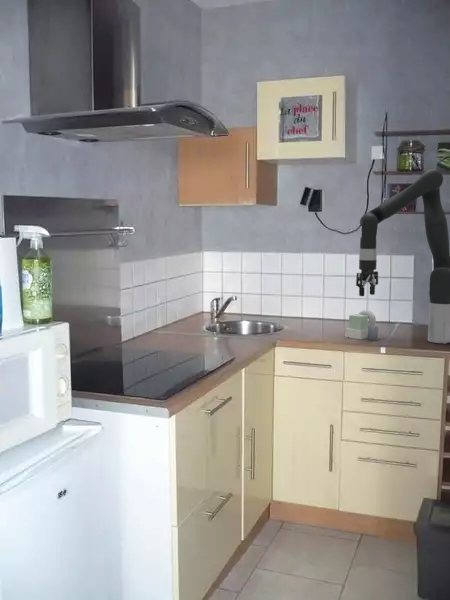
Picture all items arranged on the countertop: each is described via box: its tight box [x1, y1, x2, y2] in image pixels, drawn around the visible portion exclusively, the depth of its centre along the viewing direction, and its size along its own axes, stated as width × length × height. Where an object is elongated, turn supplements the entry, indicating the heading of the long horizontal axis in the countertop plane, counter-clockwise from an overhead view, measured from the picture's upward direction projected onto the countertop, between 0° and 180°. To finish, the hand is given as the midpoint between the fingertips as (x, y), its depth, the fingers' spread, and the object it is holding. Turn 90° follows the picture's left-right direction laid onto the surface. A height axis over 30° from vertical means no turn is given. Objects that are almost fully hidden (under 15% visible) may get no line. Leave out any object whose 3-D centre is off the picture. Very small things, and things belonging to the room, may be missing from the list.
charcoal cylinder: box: [366, 325, 379, 342], centre depth 289 cm, size 5×5×6 cm
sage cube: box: [348, 313, 369, 330], centre depth 294 cm, size 6×6×6 cm
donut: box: [358, 309, 377, 326], centre depth 312 cm, size 10×4×10 cm, turn 46°
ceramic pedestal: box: [344, 327, 368, 340], centre depth 295 cm, size 8×8×4 cm
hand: (367, 295), depth 290 cm, fingers open, 8 cm apart
